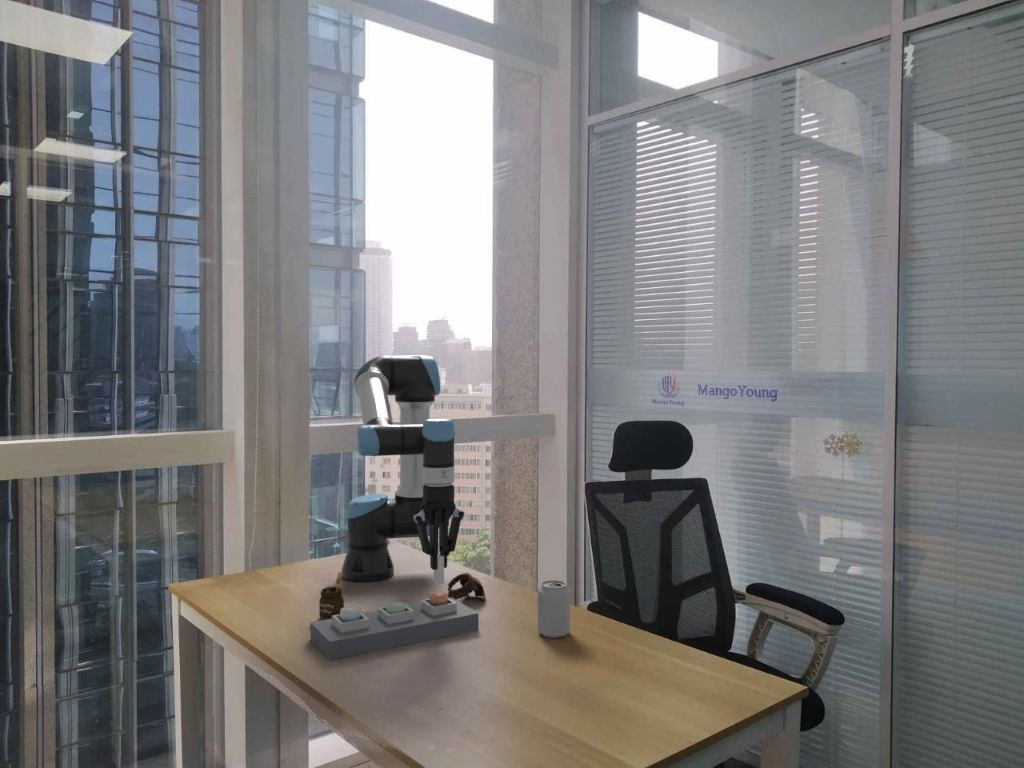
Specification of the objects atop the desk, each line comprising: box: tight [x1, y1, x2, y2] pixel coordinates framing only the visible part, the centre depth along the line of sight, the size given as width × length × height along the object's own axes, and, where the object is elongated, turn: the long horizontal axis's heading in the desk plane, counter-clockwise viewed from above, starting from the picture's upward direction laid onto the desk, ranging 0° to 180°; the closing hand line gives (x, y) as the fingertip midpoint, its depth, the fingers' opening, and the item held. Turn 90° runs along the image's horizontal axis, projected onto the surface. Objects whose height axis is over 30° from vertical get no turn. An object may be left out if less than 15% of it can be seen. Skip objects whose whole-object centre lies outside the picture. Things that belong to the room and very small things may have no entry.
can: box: [537, 579, 571, 639], centre depth 184 cm, size 8×8×12 cm
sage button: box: [385, 601, 406, 614], centre depth 183 cm, size 4×4×2 cm
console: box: [309, 598, 479, 661], centre depth 183 cm, size 14×36×6 cm, turn 121°
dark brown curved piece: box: [446, 572, 487, 603], centre depth 209 cm, size 12×10×8 cm
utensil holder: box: [318, 570, 345, 620], centre depth 194 cm, size 6×6×12 cm
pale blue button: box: [340, 605, 361, 622], centre depth 177 cm, size 4×4×2 cm
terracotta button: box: [429, 590, 448, 605], centre depth 188 cm, size 4×4×2 cm
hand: (438, 582), depth 188 cm, fingers closed
